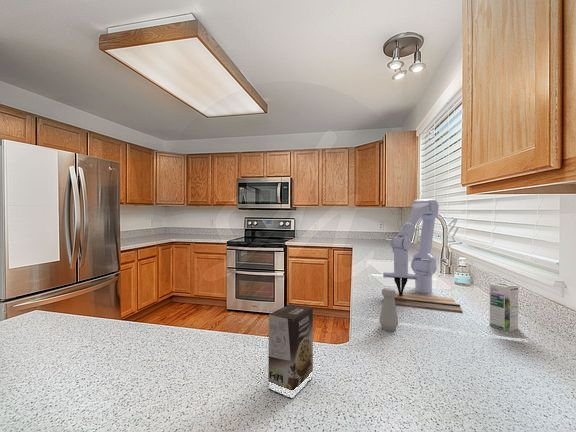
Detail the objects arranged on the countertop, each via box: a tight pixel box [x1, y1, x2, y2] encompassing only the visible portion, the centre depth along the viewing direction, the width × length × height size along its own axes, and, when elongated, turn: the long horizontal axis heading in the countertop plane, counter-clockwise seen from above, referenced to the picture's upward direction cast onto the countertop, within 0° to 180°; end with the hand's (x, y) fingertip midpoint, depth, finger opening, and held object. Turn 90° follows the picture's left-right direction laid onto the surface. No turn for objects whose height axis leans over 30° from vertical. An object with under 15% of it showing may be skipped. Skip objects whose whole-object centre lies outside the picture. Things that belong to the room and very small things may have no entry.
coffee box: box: [267, 303, 314, 390], centre depth 63 cm, size 9×6×16 cm
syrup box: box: [488, 282, 519, 332], centre depth 93 cm, size 6×6×14 cm
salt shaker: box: [378, 287, 399, 332], centre depth 93 cm, size 6×6×13 cm
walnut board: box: [382, 298, 463, 314], centre depth 114 cm, size 6×28×2 cm, turn 67°
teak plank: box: [394, 292, 457, 304], centre depth 123 cm, size 10×26×2 cm, turn 67°
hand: (400, 294), depth 126 cm, fingers closed
